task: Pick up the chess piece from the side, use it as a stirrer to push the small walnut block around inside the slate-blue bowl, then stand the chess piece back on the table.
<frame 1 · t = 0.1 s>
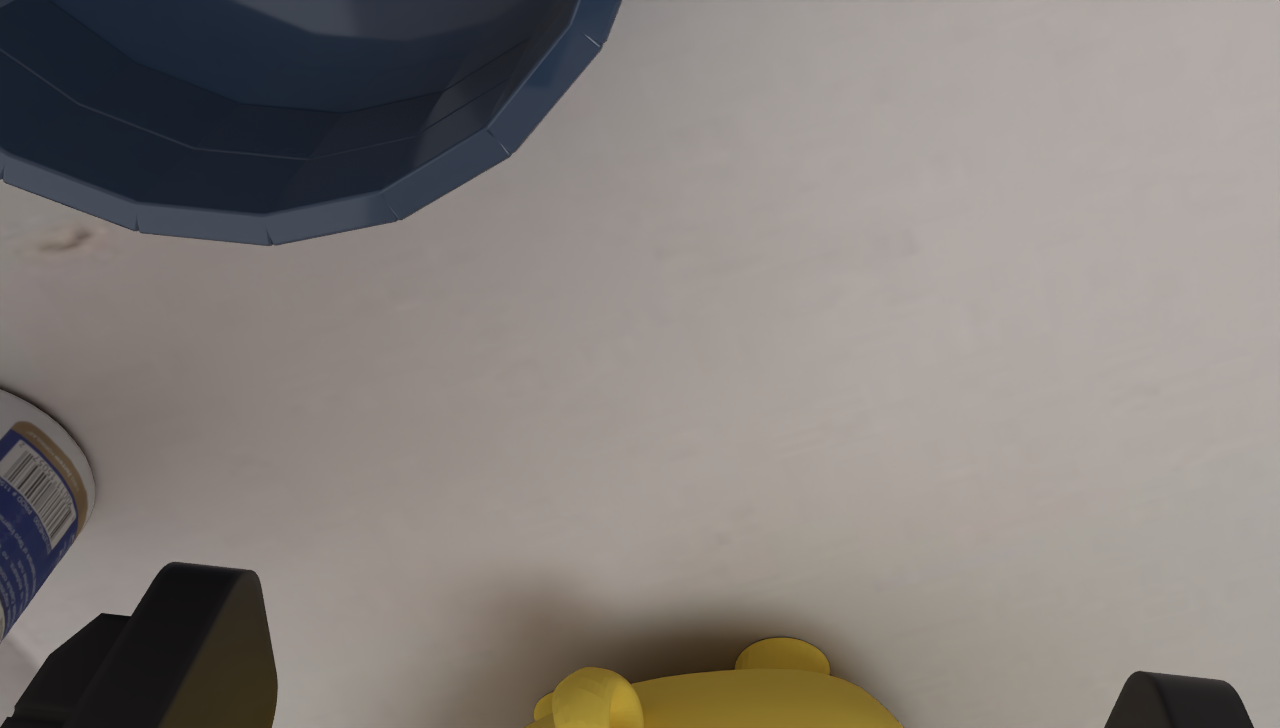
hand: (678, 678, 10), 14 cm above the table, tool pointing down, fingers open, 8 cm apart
pill bottle: (2, 455, 28), on the table
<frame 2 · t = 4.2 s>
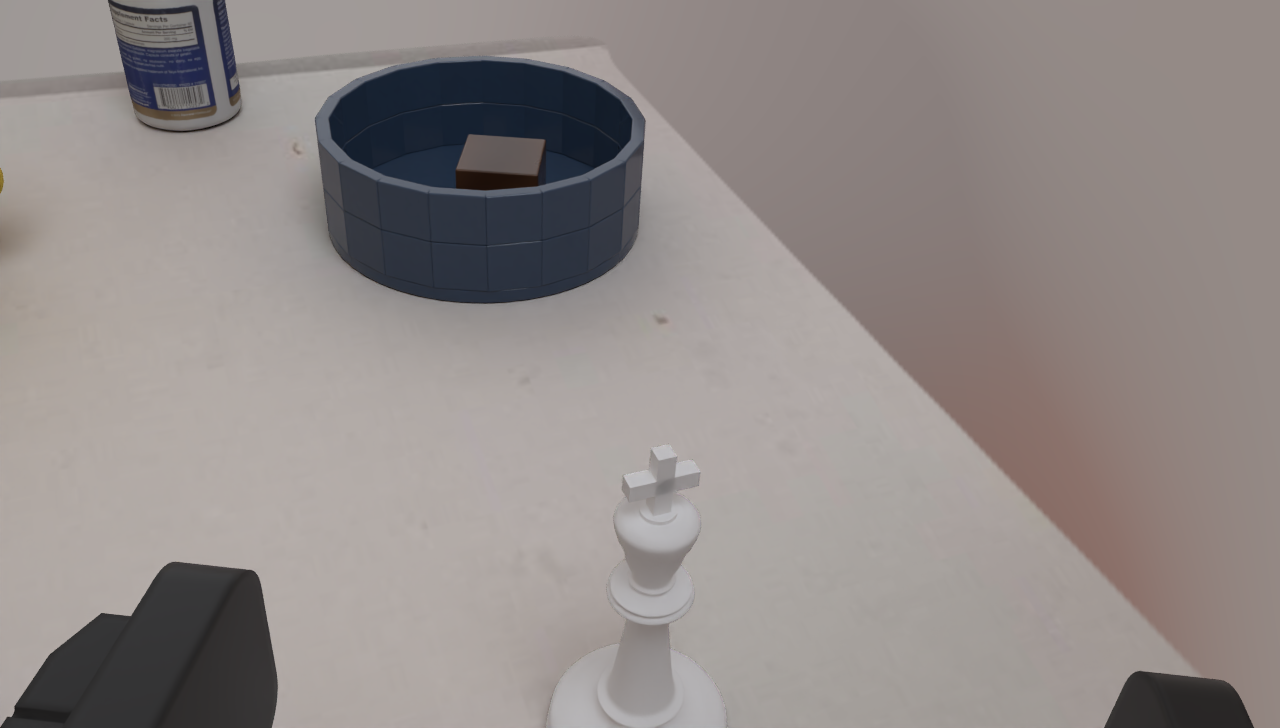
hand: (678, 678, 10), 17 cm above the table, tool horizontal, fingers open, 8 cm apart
bowl: (486, 218, 52), on the table
block: (503, 224, 50), point 1 cm above the table, touching bowl
pill bottle: (190, 115, 59), on the table
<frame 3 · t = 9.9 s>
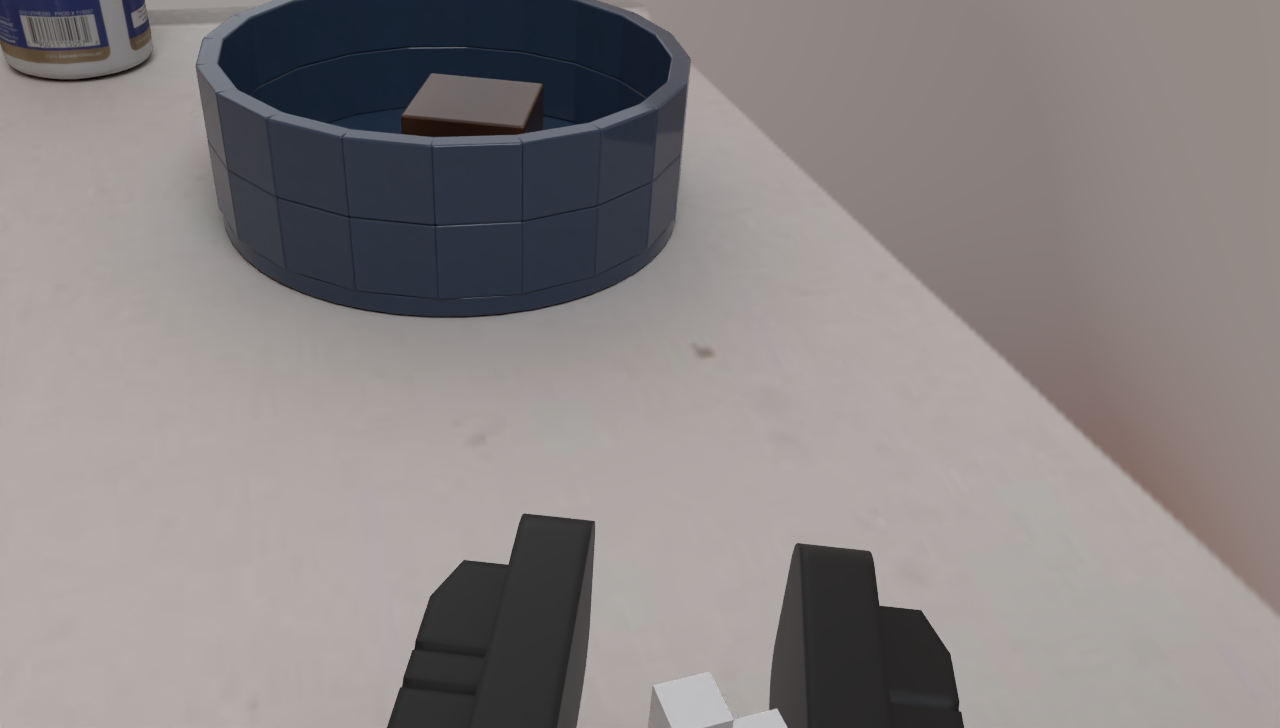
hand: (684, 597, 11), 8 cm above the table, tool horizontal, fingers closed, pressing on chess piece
bowl: (456, 200, 36), on the table
block: (477, 206, 34), point 1 cm above the table, touching bowl
pill bottle: (82, 63, 44), on the table
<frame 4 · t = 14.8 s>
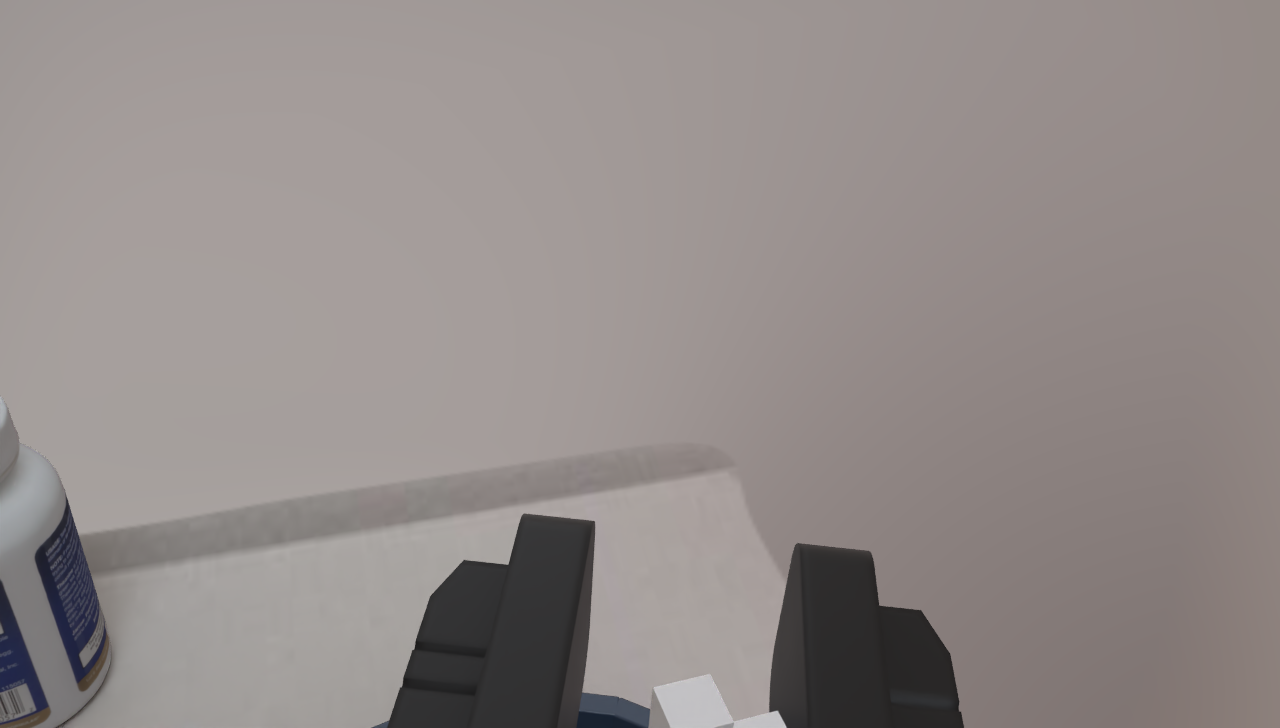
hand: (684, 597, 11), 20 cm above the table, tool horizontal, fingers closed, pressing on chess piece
pill bottle: (18, 685, 33), on the table
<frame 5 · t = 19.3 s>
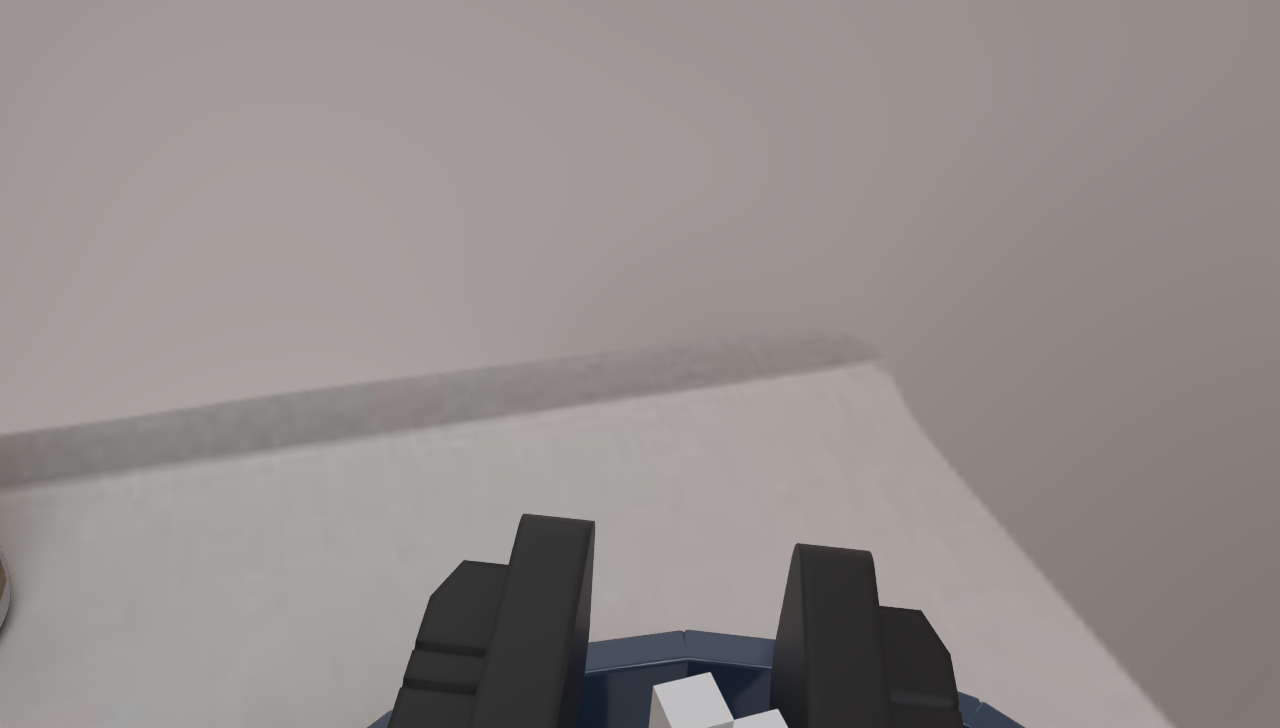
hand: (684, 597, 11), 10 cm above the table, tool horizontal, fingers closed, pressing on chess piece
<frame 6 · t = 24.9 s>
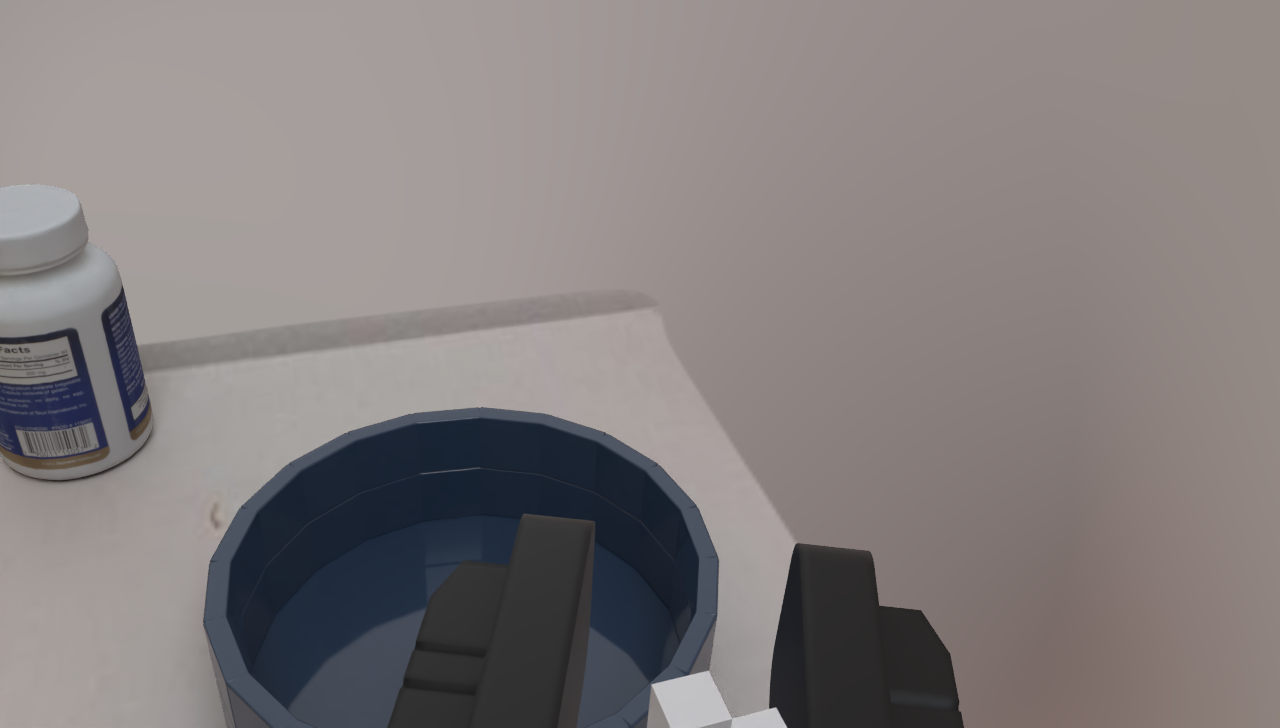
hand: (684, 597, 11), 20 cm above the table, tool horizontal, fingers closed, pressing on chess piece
bowl: (473, 675, 35), on the table
pill bottle: (80, 443, 43), on the table
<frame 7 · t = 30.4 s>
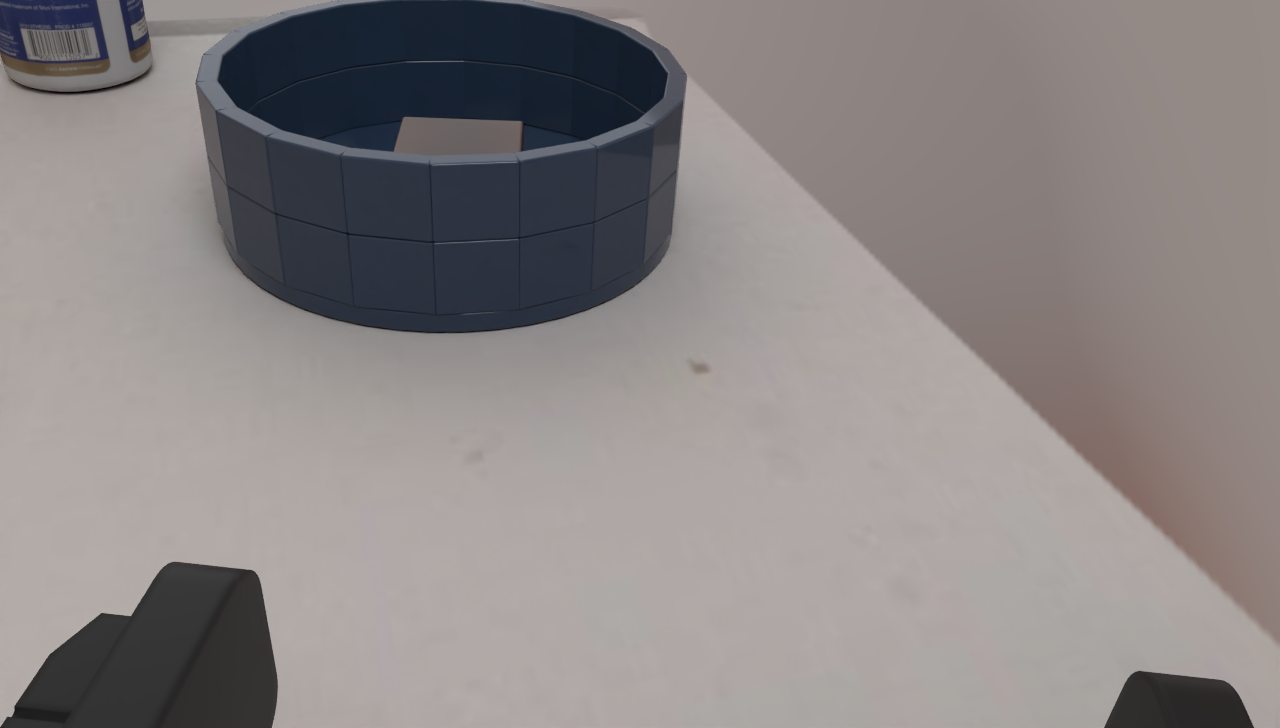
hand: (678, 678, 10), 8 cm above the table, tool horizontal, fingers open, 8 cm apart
bowl: (454, 214, 36), on the table
block: (462, 253, 33), point 1 cm above the table, touching bowl
pill bottle: (82, 75, 44), on the table
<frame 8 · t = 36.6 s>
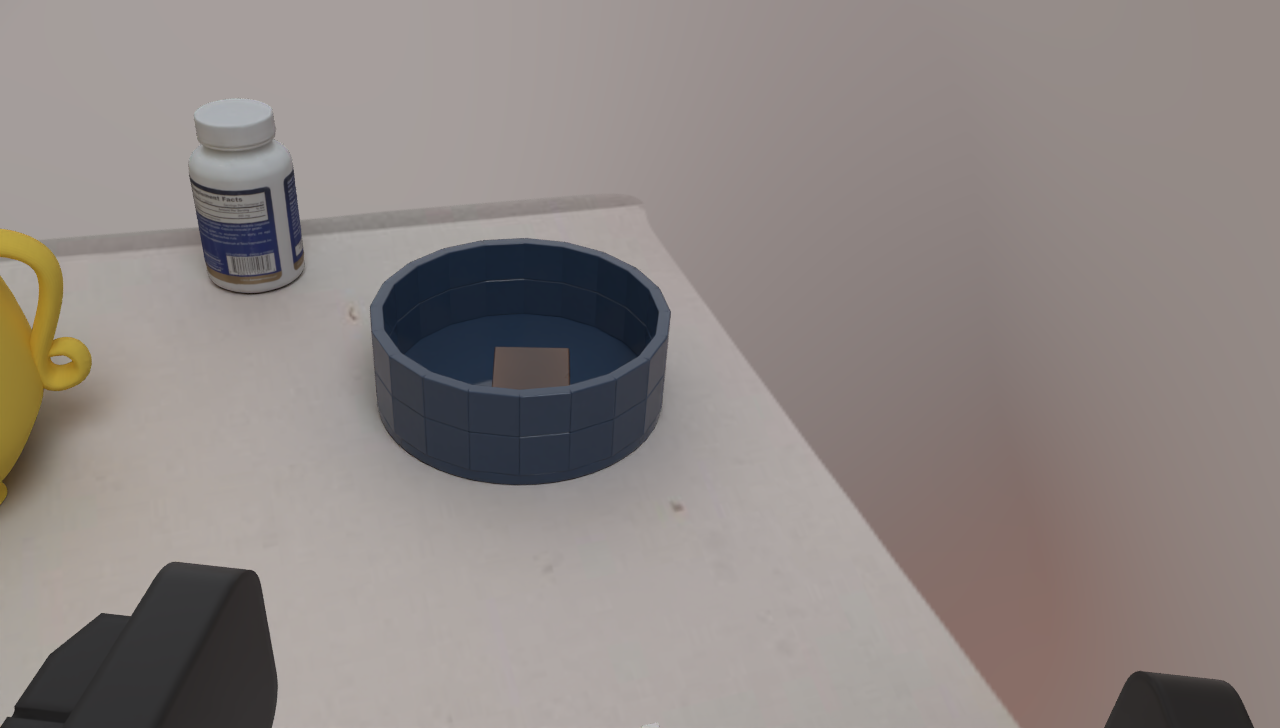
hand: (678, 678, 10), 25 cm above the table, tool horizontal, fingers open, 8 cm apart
bowl: (521, 392, 56), on the table
block: (530, 428, 53), point 1 cm above the table, touching bowl
pill bottle: (257, 275, 64), on the table
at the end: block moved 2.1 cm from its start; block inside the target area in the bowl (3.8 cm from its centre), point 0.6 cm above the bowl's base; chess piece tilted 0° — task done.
